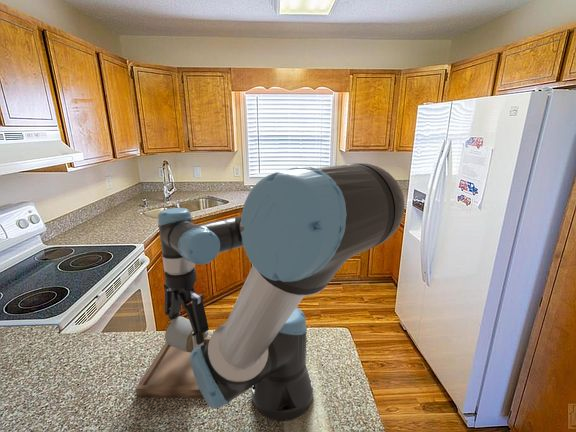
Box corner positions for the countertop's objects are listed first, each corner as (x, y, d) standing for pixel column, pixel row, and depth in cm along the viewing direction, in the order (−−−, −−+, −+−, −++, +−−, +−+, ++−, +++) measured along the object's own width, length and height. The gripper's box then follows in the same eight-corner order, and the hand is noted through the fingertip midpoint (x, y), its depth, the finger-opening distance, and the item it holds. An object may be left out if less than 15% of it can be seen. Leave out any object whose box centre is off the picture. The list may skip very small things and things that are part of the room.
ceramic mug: (189, 360, 75) (186, 333, 73) (165, 350, 78) (163, 325, 77) (215, 336, 84) (214, 312, 83) (194, 329, 88) (192, 305, 86)
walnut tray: (233, 343, 91) (233, 336, 91) (217, 398, 72) (216, 389, 71) (170, 343, 92) (169, 336, 91) (136, 397, 72) (135, 388, 72)
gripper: (219, 274, 71) (225, 353, 77) (169, 255, 84) (177, 324, 89) (193, 286, 66) (201, 371, 71) (143, 264, 78) (154, 337, 83)
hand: (188, 345), depth 80 cm, fingers closed on ceramic mug, 9 cm apart
